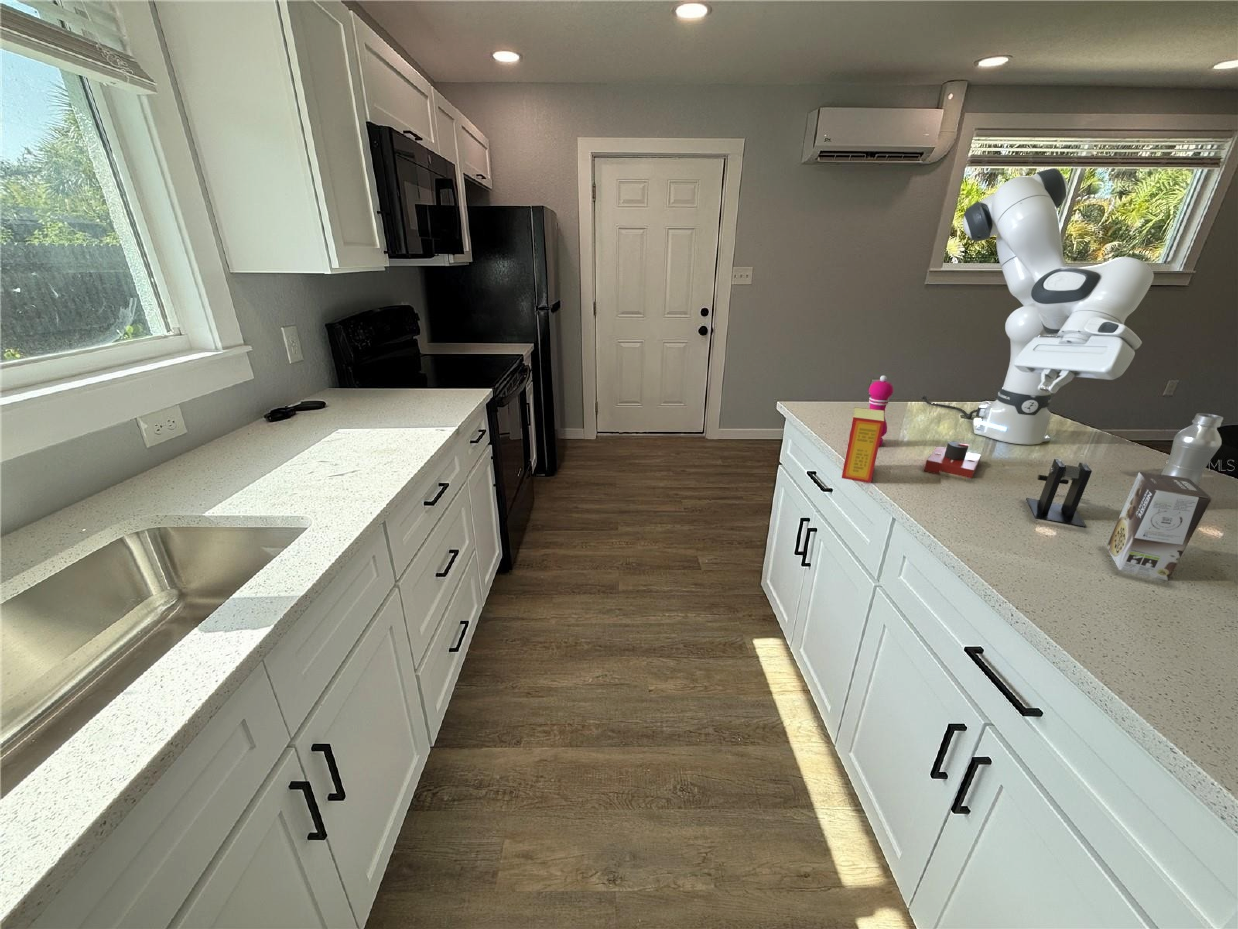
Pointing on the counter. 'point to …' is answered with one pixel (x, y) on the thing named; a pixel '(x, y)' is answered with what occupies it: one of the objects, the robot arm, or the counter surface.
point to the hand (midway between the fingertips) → (1045, 391)
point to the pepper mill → (880, 398)
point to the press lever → (1065, 474)
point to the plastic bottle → (1194, 448)
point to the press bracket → (1067, 510)
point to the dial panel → (952, 463)
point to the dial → (956, 450)
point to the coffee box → (1156, 524)
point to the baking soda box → (863, 444)
